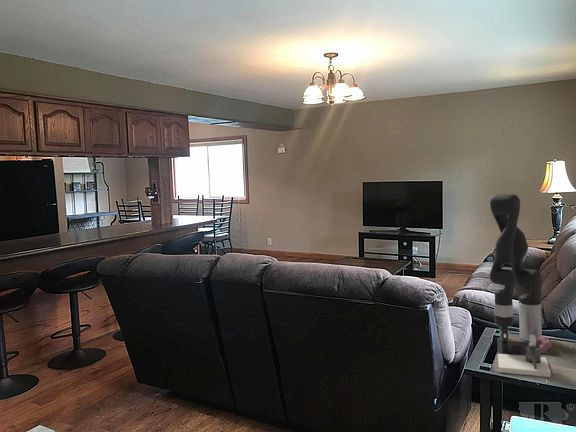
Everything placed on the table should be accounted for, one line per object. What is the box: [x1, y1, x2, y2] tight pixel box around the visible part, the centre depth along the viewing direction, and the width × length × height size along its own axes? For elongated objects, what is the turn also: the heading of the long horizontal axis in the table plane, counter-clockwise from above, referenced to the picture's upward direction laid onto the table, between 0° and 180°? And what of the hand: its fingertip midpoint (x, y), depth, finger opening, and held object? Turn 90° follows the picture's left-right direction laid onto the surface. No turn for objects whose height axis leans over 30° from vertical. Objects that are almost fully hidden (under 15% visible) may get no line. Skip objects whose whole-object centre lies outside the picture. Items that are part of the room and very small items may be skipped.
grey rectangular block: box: [496, 337, 530, 355], centre depth 201 cm, size 6×12×6 cm, turn 67°
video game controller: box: [536, 335, 552, 354], centre depth 203 cm, size 10×5×7 cm, turn 169°
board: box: [497, 353, 552, 378], centre depth 187 cm, size 15×18×2 cm
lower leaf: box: [524, 334, 542, 369], centre depth 184 cm, size 11×6×11 cm, turn 157°
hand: (504, 351), depth 202 cm, fingers closed on grey rectangular block, 5 cm apart
